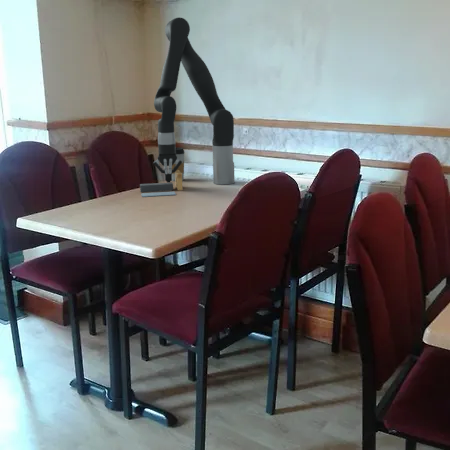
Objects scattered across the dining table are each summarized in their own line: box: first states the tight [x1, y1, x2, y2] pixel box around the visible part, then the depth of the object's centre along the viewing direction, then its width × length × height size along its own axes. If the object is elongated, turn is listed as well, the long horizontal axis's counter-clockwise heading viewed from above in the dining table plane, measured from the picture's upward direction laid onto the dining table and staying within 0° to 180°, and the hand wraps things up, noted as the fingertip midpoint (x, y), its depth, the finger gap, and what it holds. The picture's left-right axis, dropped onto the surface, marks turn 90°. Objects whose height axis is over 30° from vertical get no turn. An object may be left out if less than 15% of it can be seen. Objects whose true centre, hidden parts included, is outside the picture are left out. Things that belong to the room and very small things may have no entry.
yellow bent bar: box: [174, 170, 183, 191], centre depth 250 cm, size 2×10×7 cm, turn 10°
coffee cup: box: [171, 147, 185, 182], centre depth 270 cm, size 8×8×15 cm
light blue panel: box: [140, 191, 177, 198], centre depth 239 cm, size 14×6×1 cm, turn 100°
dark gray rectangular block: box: [139, 181, 174, 193], centre depth 248 cm, size 14×4×3 cm, turn 100°
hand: (168, 182), depth 253 cm, fingers closed
